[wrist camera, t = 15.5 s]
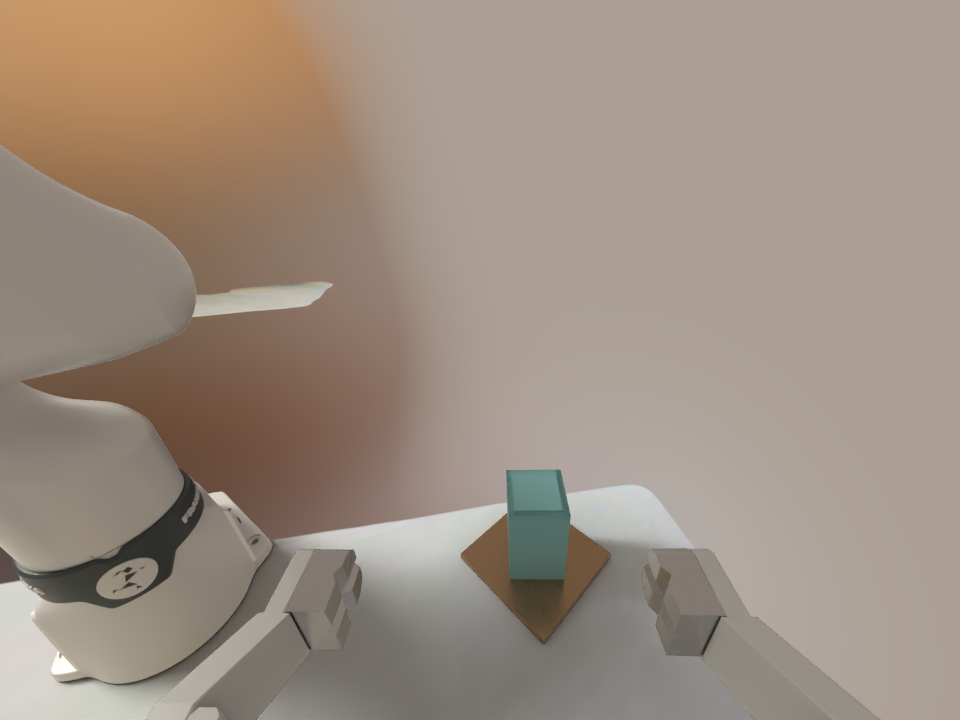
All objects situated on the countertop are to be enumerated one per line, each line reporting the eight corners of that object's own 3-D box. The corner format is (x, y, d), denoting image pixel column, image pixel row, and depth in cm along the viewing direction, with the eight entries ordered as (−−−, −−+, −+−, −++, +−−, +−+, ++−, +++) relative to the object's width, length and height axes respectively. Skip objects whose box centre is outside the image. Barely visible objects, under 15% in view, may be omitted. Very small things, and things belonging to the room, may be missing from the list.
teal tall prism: (509, 579, 38) (508, 516, 34) (507, 531, 43) (506, 470, 39) (564, 579, 38) (570, 515, 33) (556, 530, 43) (560, 469, 38)
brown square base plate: (454, 643, 34) (446, 594, 30) (466, 498, 49) (461, 454, 45) (636, 645, 33) (650, 596, 29) (591, 497, 48) (597, 452, 44)
